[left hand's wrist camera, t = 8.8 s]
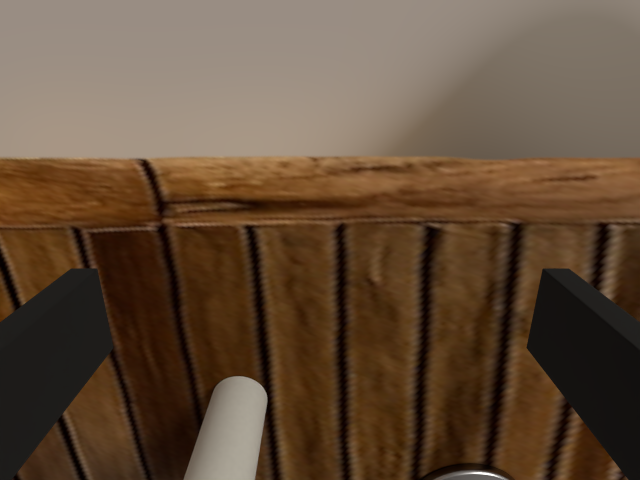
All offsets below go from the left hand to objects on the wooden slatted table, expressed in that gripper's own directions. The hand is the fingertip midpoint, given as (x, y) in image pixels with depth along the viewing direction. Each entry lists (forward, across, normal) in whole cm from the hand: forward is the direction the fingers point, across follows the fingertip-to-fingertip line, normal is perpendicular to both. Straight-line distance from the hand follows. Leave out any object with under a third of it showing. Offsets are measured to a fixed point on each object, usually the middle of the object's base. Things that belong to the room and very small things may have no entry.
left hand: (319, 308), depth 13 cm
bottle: (+28, +9, +28) cm, 40 cm away
